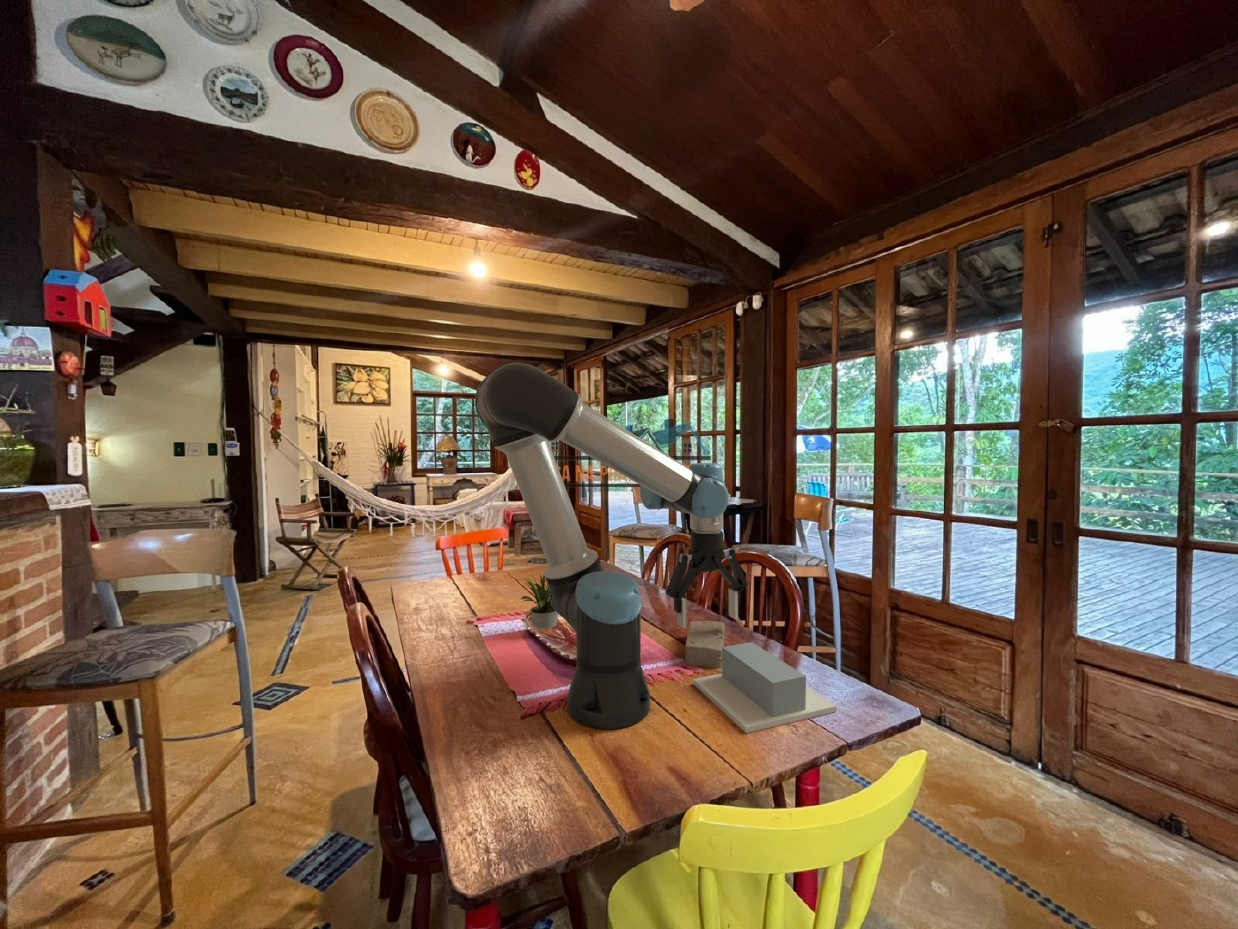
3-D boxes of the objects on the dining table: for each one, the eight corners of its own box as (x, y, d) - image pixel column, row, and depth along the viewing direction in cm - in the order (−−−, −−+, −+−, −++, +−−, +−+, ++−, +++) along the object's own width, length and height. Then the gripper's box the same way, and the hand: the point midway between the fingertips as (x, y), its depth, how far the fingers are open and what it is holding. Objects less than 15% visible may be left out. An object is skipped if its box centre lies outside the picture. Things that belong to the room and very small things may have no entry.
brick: (723, 670, 106) (723, 648, 106) (684, 666, 108) (684, 644, 108) (724, 640, 122) (724, 621, 122) (690, 637, 124) (690, 619, 124)
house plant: (517, 650, 116) (516, 580, 115) (507, 629, 128) (506, 567, 128) (575, 640, 121) (575, 574, 120) (560, 622, 134) (560, 561, 133)
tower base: (746, 733, 82) (746, 691, 82) (693, 684, 99) (693, 649, 99) (836, 711, 89) (837, 673, 89) (772, 668, 106) (772, 636, 105)
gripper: (664, 538, 106) (666, 636, 107) (762, 528, 115) (763, 619, 116) (650, 532, 113) (652, 624, 114) (743, 523, 122) (744, 609, 123)
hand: (708, 621), depth 115 cm, fingers open, 13 cm apart
